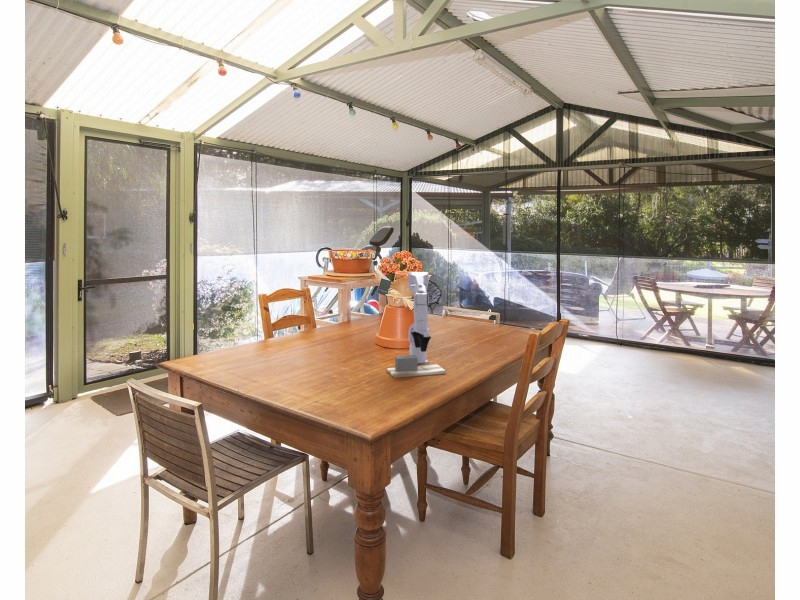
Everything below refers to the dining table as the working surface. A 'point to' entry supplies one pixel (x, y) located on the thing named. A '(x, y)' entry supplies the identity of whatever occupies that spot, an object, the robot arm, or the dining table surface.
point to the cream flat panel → (421, 371)
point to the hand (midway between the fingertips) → (420, 349)
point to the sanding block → (406, 363)
